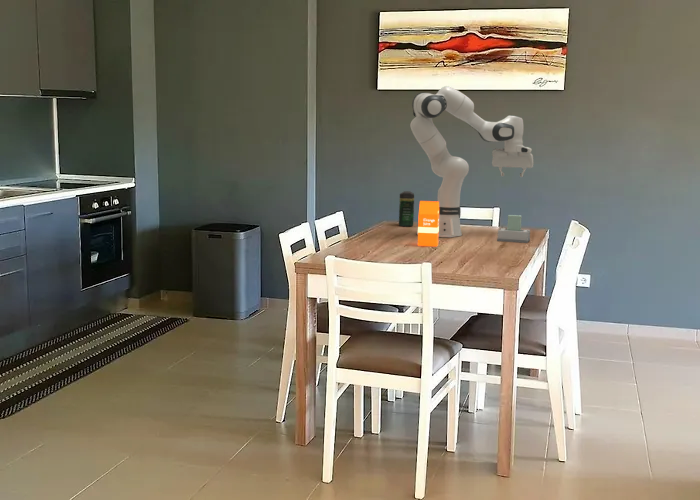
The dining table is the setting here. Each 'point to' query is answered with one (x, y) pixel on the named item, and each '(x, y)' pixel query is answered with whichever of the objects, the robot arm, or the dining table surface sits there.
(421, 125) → the robot arm
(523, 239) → the gray slotted block
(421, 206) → the orange juice
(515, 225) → the green rectangular block
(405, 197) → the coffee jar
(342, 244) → the dining table surface
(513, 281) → the dining table surface
